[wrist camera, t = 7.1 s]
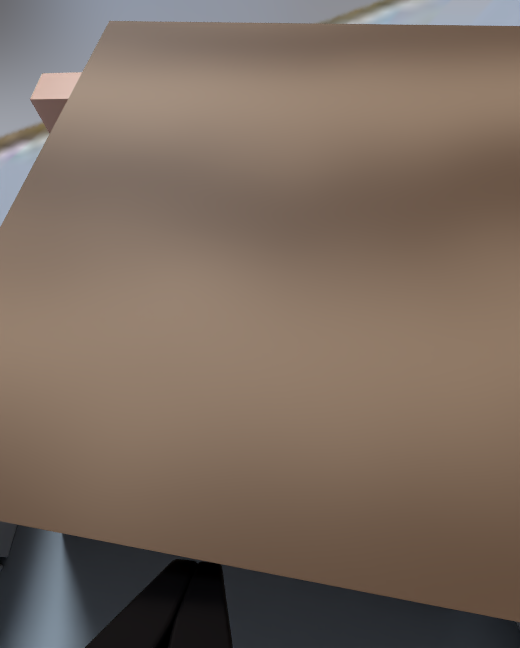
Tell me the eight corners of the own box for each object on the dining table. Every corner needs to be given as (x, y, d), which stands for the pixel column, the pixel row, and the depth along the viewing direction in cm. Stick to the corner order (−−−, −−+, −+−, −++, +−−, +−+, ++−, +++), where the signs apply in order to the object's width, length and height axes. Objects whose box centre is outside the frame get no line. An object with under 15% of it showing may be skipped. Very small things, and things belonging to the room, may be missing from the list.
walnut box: (453, 607, 13) (612, 639, 6) (64, 532, 15) (-141, 494, 8) (448, 222, 20) (527, 26, 13) (173, 201, 22) (109, 21, 15)
